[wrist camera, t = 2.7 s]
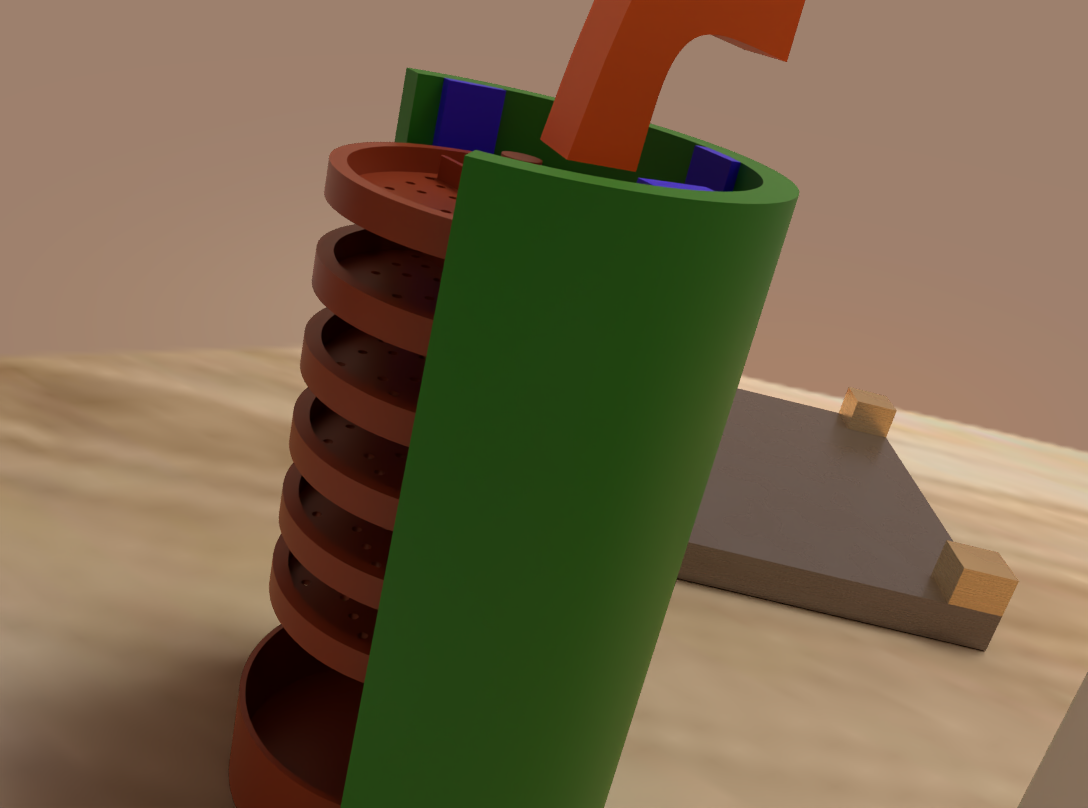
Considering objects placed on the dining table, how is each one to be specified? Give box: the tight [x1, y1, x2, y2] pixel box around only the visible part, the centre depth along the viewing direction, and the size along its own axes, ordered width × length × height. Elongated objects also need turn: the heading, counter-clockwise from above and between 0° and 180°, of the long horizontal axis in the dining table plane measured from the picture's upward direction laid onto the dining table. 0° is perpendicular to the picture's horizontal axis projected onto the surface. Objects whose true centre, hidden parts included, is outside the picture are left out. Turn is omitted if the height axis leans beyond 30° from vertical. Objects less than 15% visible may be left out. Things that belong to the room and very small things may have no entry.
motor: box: [229, 0, 805, 808], centre depth 22 cm, size 10×9×20 cm
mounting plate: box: [677, 387, 1019, 651], centre depth 45 cm, size 18×18×3 cm
